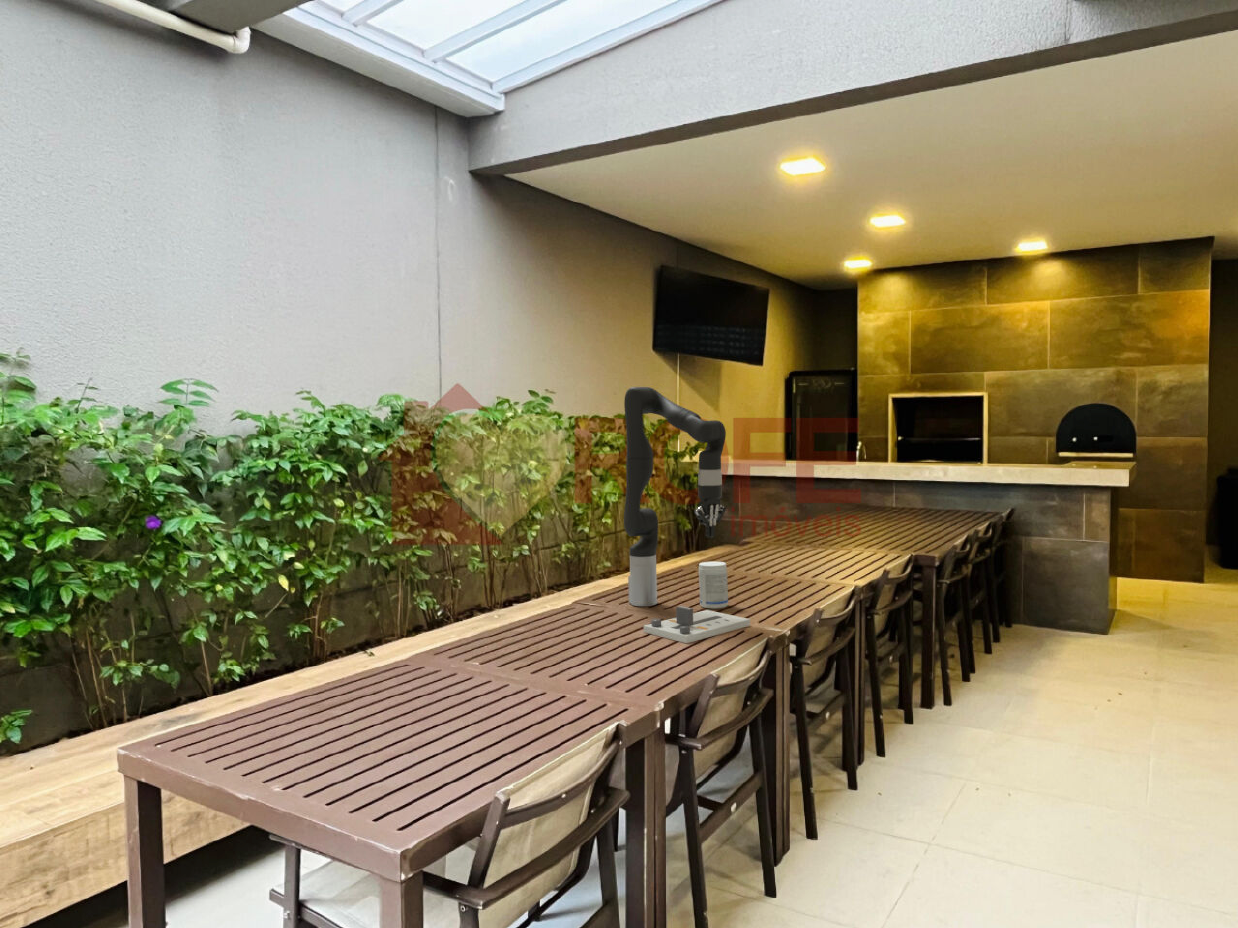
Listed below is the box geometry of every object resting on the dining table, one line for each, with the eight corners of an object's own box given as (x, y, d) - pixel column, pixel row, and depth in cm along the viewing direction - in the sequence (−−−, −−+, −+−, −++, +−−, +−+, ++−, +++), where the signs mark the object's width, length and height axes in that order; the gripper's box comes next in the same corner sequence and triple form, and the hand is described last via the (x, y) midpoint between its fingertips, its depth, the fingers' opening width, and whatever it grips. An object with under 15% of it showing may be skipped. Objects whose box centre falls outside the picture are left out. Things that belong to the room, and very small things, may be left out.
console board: (643, 632, 249) (643, 619, 249) (707, 616, 267) (706, 604, 267) (686, 643, 235) (686, 630, 235) (750, 625, 254) (749, 613, 254)
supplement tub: (733, 605, 281) (733, 563, 280) (715, 610, 274) (715, 567, 274) (711, 601, 288) (710, 560, 287) (693, 606, 281) (693, 563, 281)
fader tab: (676, 623, 249) (676, 606, 249) (681, 622, 250) (681, 605, 250) (688, 626, 245) (688, 608, 245) (693, 625, 247) (692, 607, 246)
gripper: (715, 481, 269) (715, 533, 270) (686, 484, 261) (687, 538, 262) (732, 482, 263) (733, 536, 265) (703, 485, 255) (704, 541, 256)
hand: (710, 537), depth 263 cm, fingers closed
